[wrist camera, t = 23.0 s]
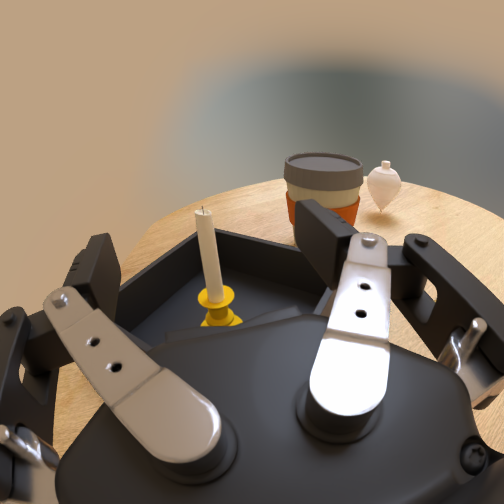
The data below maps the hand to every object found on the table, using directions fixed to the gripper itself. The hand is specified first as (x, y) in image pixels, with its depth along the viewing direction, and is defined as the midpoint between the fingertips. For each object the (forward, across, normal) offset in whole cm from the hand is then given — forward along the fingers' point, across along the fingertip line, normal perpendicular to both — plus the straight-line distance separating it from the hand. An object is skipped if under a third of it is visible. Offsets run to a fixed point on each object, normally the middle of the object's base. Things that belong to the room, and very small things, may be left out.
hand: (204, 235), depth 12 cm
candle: (+13, -1, +20) cm, 24 cm away
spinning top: (+36, -40, +21) cm, 58 cm away
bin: (+14, -2, +21) cm, 25 cm away
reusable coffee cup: (+28, -21, +21) cm, 41 cm away
